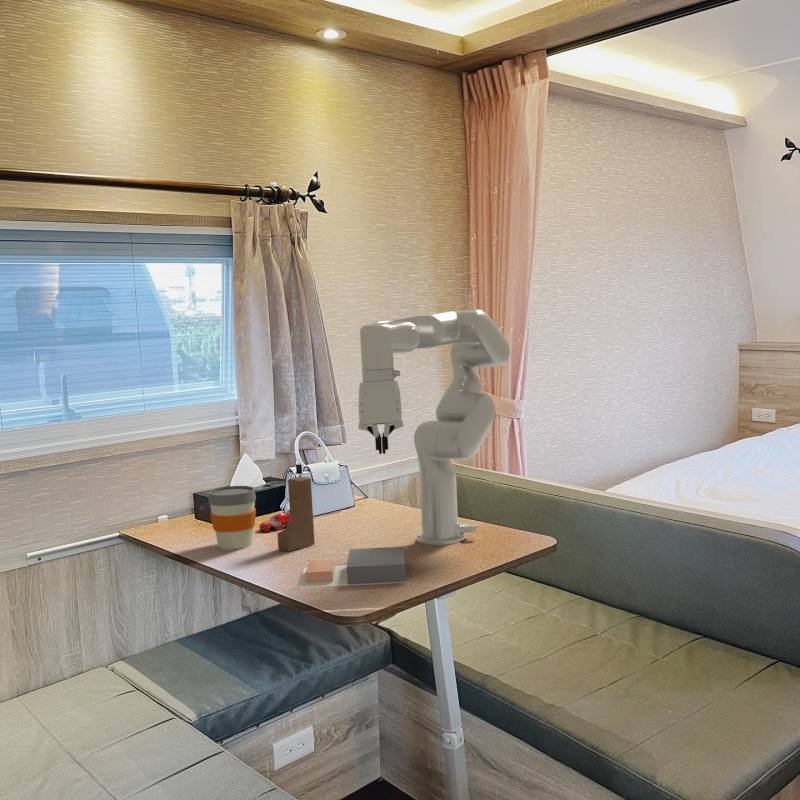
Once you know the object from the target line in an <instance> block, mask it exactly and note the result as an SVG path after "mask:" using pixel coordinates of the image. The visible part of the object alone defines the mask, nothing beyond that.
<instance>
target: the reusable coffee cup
mask: <svg viewBox="0 0 800 800" xmlns="http://www.w3.org/2000/svg"><path fill="white" fill-rule="evenodd" d="M256 500H257V496H256V491H255V487H254V486H250V485H230V486H222V487H218V488H214V489H211V490H209V491H208V504H209V505H210V519H211V523H212V529H213V530H214V531H215V536H216V542H217V546H218V548H219V549H220V548H221V549H220V550H224V549H225V550H224V551H234V550H233V549H237V550H242V549H241V548H243V549H246V548H248V546H249V547H251V546H252V545H253V540H254V538H253V536H254V527H255V526H256V517H257V516H256V515H257V509H256V508H255V506H256V504H255V503H256ZM250 545H251V546H250ZM245 547H246V548H245Z"/></svg>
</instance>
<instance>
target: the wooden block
mask: <svg viewBox="0 0 800 800" xmlns="http://www.w3.org/2000/svg"><path fill="white" fill-rule="evenodd" d="M287 485H288V486H287V487H288V502H289V503H288V504H289V513H290V520H289V524H288V526H287V527H286V528H284V529H282V530H281V531H279V532H277V546H278V547H277V548H278V550H280V551H284V552H287V553H289V552H293V551H297V550H301V549H303V548H307V547H310V546H314V545H315V529H314V527H315V526H314V510H313V509H314V508H313V495H312V494H313V493H312V492H313V491H312V479H311V478H310V477H305V476H296V477H290V478H289V479H287Z"/></svg>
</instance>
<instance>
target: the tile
mask: <svg viewBox="0 0 800 800" xmlns="http://www.w3.org/2000/svg"><path fill="white" fill-rule="evenodd" d="M335 561H336V559H335V558H334V559H315V560H309V561H308V563H307V566H306V567H307V570H306V583H322V582H333V579H334V573H335V566H336V562H335Z"/></svg>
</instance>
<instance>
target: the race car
mask: <svg viewBox="0 0 800 800" xmlns="http://www.w3.org/2000/svg"><path fill="white" fill-rule="evenodd" d="M289 520H290V512H281V513H277V514H275V515H273V516H272V517H269V519H267V520H264V521H262V522H261V523H260V524H259V525H258V527H259V531H261V532H269V531H270V532H269V533H272V532H271V531H274V532H275V531H279V529H280V530H284V529H286V527H287V526H288V524H289ZM283 528H284V529H283Z"/></svg>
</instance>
